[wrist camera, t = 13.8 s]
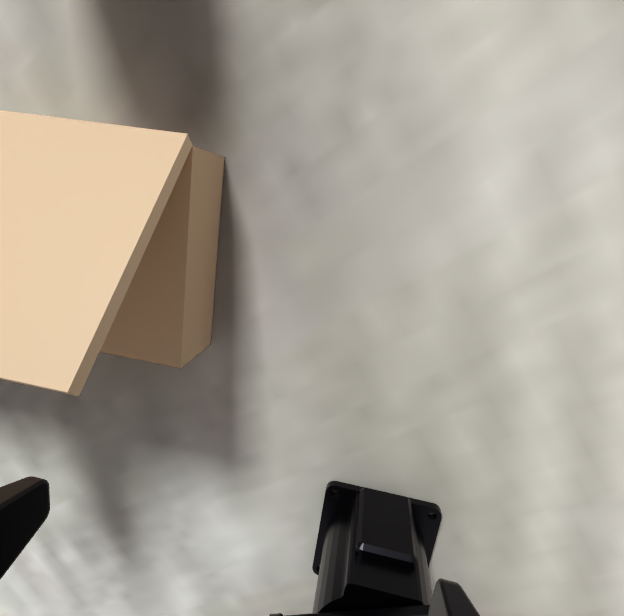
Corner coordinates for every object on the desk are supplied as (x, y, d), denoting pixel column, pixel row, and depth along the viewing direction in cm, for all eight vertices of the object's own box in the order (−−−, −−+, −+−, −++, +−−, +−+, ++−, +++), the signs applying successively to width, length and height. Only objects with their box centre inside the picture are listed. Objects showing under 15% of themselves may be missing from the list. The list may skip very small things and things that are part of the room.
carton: (210, 344, 22) (180, 368, 19) (-66, 291, 24) (-136, 304, 21) (224, 157, 20) (192, 145, 16) (-85, 116, 22) (-170, 99, 18)
